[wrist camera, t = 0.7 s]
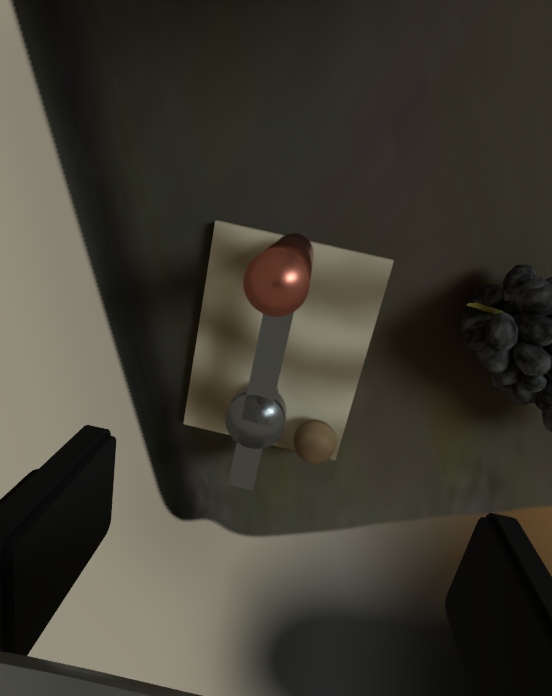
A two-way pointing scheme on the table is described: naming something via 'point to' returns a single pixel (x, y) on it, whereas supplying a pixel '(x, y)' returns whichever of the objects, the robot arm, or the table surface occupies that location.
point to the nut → (315, 441)
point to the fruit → (515, 337)
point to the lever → (267, 351)
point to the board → (304, 337)
